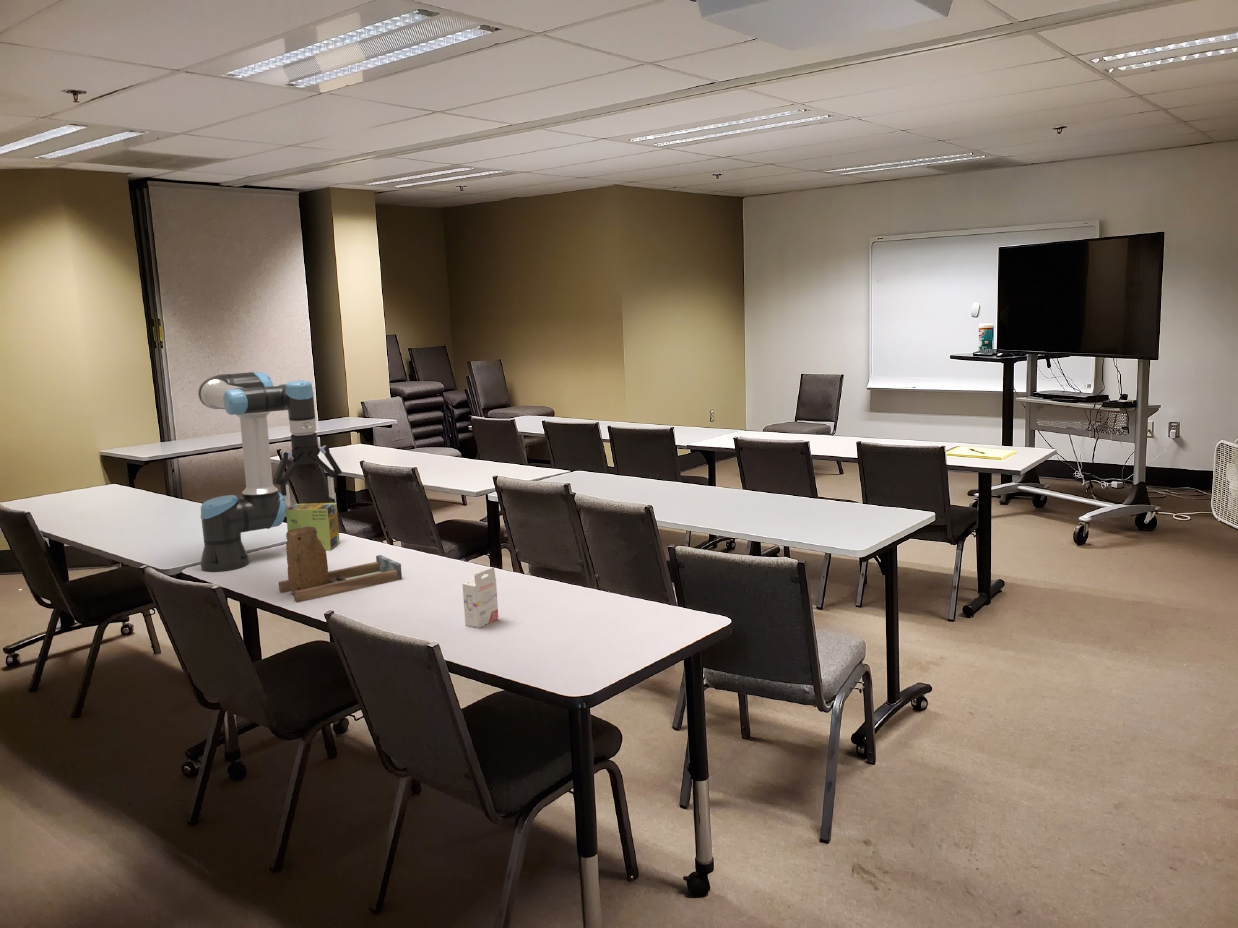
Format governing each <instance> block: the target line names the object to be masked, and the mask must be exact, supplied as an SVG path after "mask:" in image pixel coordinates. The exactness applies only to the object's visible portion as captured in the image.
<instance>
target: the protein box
mask: <svg viewBox="0 0 1238 928" xmlns="http://www.w3.org/2000/svg"><path fill="white" fill-rule="evenodd" d="M285 518H286V526H287V529H286V530H287V532H288V531H290V530H293V529H296V528H303V527H307V526H309V527H315V528H316V530H317V537H318V539H319V540H320V541H321V543H322V545H323V547H324V548H325V550H326V552H327V551H329V552H330V551H332V550H333V549H335V548H336V547H337V546H338V545H340V544H341V541H340V533H339V532H340V531H339V519H338V507H337V502H318V503H317V502H314V503H296V504H294V505H292V506H289V507H288V508H287V509H286V512H285Z"/></svg>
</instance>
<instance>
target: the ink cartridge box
mask: <svg viewBox="0 0 1238 928" xmlns="http://www.w3.org/2000/svg"><path fill="white" fill-rule="evenodd" d="M485 575H487V576H485ZM473 577H474V578H473V579H471V580H469V581H466V582H464V583H462V595H463V610H464V623H465V625H464V626H465V627H466V626H467V627H473V628H478V629H479V628H482V627H484V626H486V625H488V624H490V623H492V622H495V621H496V620H495V619H497V618H498V619H499V610H498V609H499V606H498V589H497V588H498V587H497V578H496V571H495V567H491V568H488V569H484V570H483V571H481V572H478V573H476V574H474V576H473ZM498 619H497V620H498ZM491 621H492V622H491ZM485 624H486V625H485ZM481 626H482V627H481Z"/></svg>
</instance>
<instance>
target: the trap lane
mask: <svg viewBox="0 0 1238 928" xmlns="http://www.w3.org/2000/svg"><path fill="white" fill-rule="evenodd" d="M375 560H376V561H373V562H369V563H364V564H359V565H355V566H354V565H353V566H350V567H346V568H340V569H335V570H328V584H325V585H320V586H315V587H311V588H306V589H301V590H297V591H294V593H293V598H294V602H295V603H301V602H306V601H309V600H310V601H311V600H313V599H318V598H319V599H320V598H323V597H328V596H332V595H337V594H341V593H345V592H350V591H351V592H352V591H354V590H358V589H363V588H364V589H365V588H368V587H374V586H377V585H383V584H387V583H392V582H395V581H399V580H402V579H403V577H402V576H403V575H402V563H400V562H398V561H395V560H393V559H390V558H389V557H386V556H384V555H381V554H378V555H375ZM278 591H279V592H280V593H287V592H292V591H291V589H290V585H289V579H287V580H281V581H278Z"/></svg>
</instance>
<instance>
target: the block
mask: <svg viewBox="0 0 1238 928" xmlns="http://www.w3.org/2000/svg"><path fill="white" fill-rule="evenodd" d="M285 537H286V544H285V545H286V560H287V561H286V563H287V577H288V579H287V580H289V585H290V589H291V591H290V592H291V593H292V594H294V591H297V590H301V589H306V588H311V587H315V586H320V585H325V584H329V583H328V572H329V564H328V557H327V551H326V550H325V548H324V547H323V545H322V543H321V541H320V540H319V539H318V537H317V530H316V528H315V527H309V526H307V527H303V528H296V529H293V530H290V531H288V530H287V532H286V534H285Z"/></svg>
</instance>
